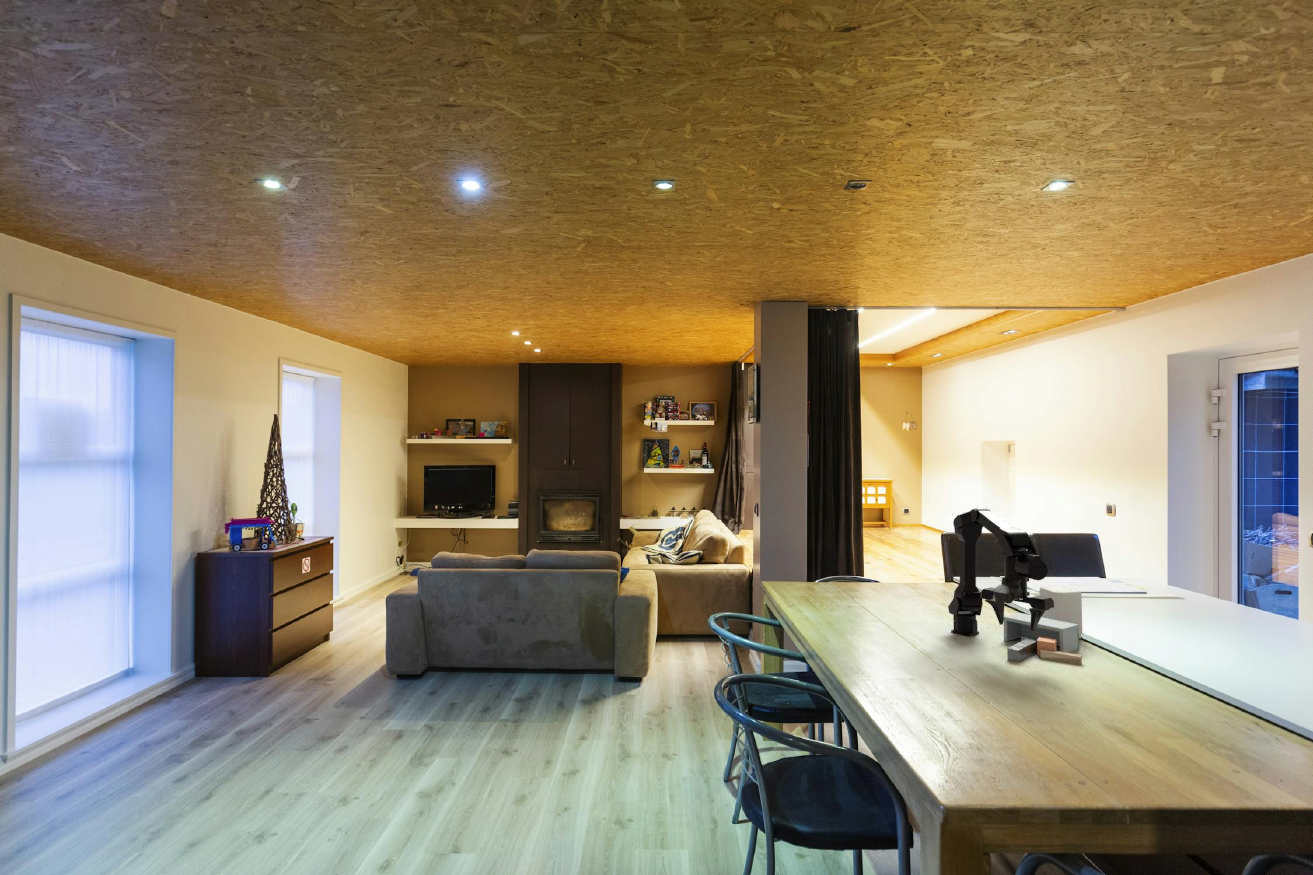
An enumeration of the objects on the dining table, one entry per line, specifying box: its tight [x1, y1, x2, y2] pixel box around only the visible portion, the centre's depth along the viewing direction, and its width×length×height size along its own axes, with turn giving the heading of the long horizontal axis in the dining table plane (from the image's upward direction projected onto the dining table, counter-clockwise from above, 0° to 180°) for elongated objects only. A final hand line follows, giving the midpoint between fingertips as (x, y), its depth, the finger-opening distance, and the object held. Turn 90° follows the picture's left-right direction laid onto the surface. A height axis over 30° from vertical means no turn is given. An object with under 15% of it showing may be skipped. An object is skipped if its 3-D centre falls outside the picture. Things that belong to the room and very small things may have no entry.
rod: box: [1040, 649, 1083, 666], centre depth 190 cm, size 2×10×2 cm, turn 52°
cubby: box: [1003, 612, 1080, 653], centre depth 206 cm, size 18×10×8 cm, turn 33°
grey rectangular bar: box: [1006, 636, 1038, 663], centre depth 196 cm, size 18×7×4 cm, turn 131°
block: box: [1036, 637, 1058, 657], centre depth 196 cm, size 4×4×4 cm
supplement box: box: [1039, 586, 1083, 639], centre depth 217 cm, size 9×9×15 cm
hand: (1016, 627), depth 192 cm, fingers open, 9 cm apart
